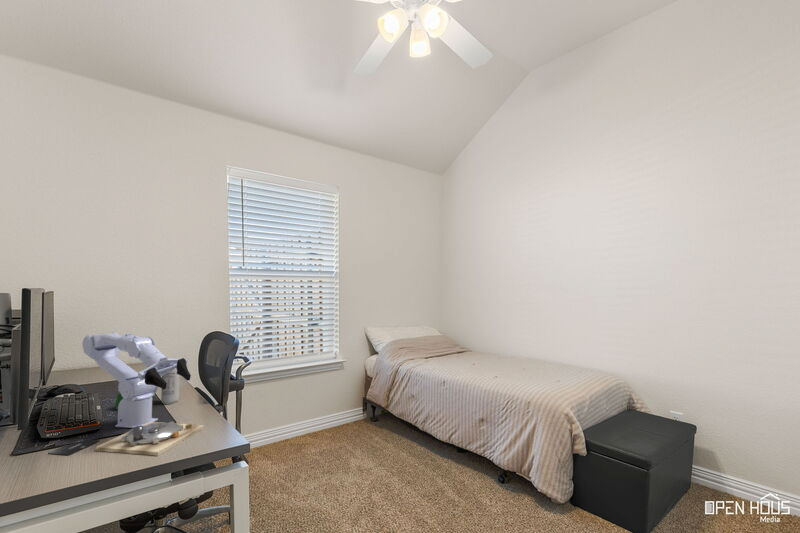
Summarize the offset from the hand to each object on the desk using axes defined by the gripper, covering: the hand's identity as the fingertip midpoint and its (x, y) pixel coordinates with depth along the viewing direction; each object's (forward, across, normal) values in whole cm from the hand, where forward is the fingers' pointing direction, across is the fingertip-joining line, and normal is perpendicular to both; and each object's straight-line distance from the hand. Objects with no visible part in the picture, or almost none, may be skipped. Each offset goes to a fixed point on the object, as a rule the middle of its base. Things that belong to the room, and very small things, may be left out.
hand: (177, 382), depth 124 cm
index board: (+3, -7, +16) cm, 18 cm away
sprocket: (+3, -7, +15) cm, 17 cm away
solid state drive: (-9, -22, +20) cm, 32 cm away
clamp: (-28, +4, +32) cm, 43 cm away
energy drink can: (-23, +14, +32) cm, 42 cm away
